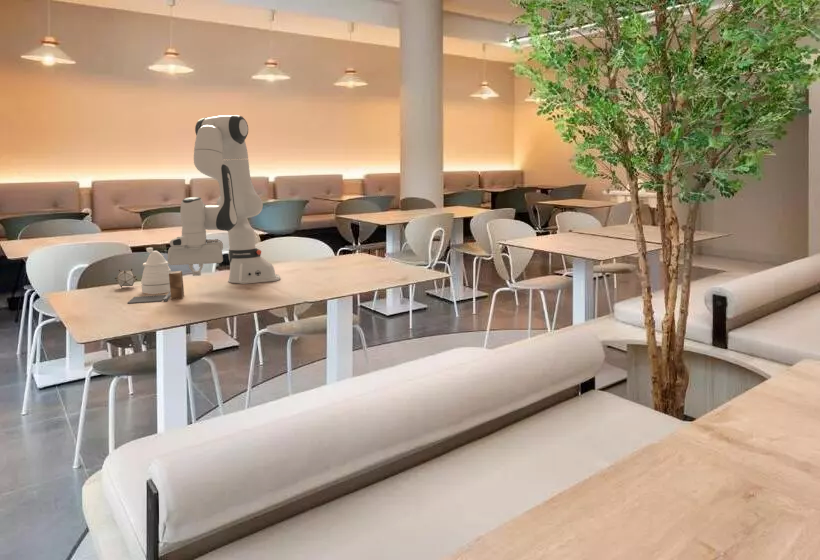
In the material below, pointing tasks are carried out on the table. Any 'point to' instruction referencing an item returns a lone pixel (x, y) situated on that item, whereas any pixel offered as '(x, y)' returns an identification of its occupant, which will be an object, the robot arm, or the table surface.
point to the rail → (167, 297)
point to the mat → (147, 299)
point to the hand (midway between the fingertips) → (196, 275)
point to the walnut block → (176, 285)
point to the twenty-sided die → (126, 278)
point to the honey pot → (155, 274)
